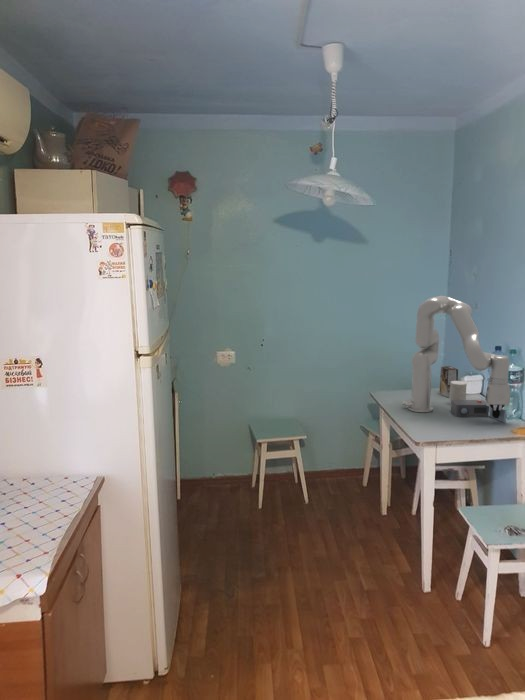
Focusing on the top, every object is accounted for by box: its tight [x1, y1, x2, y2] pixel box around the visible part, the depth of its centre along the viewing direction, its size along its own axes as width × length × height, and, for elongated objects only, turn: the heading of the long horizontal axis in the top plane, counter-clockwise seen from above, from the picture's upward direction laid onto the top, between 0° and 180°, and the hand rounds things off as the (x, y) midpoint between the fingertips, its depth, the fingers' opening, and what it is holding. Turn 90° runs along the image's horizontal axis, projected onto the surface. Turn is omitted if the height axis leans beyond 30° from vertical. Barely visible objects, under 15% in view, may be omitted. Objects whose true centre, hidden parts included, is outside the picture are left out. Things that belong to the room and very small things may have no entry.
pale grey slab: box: [489, 406, 508, 424], centre depth 257 cm, size 10×2×6 cm, turn 16°
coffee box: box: [439, 365, 459, 398], centre depth 301 cm, size 9×6×16 cm
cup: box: [449, 380, 467, 406], centre depth 284 cm, size 8×8×12 cm
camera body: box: [450, 399, 490, 417], centre depth 267 cm, size 16×11×7 cm, turn 86°
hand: (495, 417), depth 254 cm, fingers closed
